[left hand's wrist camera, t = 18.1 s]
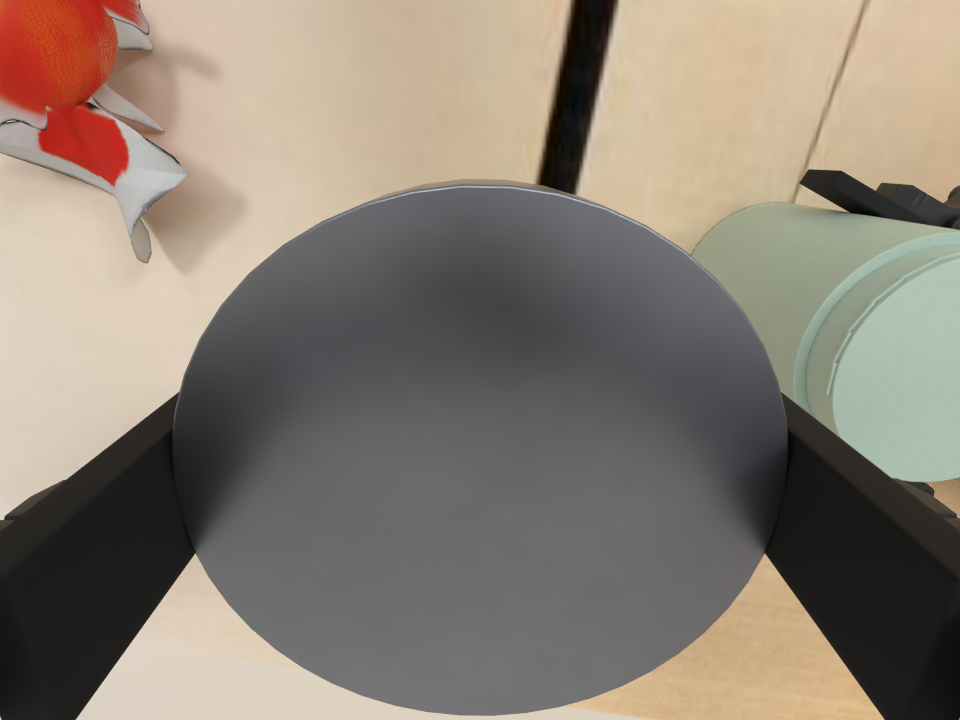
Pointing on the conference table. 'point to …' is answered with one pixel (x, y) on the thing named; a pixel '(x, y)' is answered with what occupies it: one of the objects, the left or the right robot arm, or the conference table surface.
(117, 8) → the fish
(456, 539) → the lid
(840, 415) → the jar
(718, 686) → the conference table surface
